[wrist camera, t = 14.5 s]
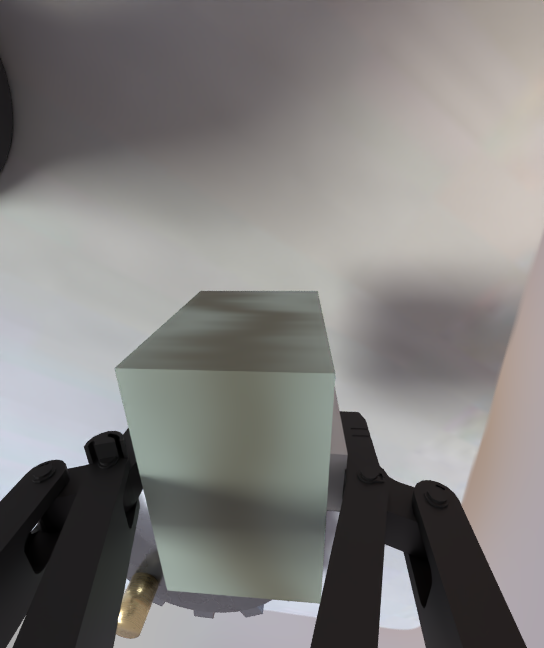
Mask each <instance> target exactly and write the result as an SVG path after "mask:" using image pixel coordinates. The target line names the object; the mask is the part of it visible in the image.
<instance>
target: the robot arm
mask: <svg viewBox="0 0 544 648" xmlns="http://www.w3.org/2000/svg"><path fill="white" fill-rule="evenodd" d="M12 127H13V116H12V103H11V96H10V90H9V86H8V81H7V78H6V74H5V71H4V68H3V65H2V62H1V59H0V171H1V169H2V168H3V166H4V163H5V161H6V159H7V156H8V152H9V148H10V144H11V138H12ZM84 449H85V452H86V455H87V459H88V462H89V464H88V465H84V466H79V467H74V468H69V469H67V466H66V464H65V463H64V462H63V461H61V460H51V461H47V462H44V463H41V464H39V465H38V466H36V467H34V468H32V469H31V470H30V471H29V472H28V473H27V474H26V475H25V476H24V477H23V478H22V479H21V480H20V481H19V482H18V483H17V484H16V485H15V486H14V487H13V489H12V490H11V491H10V492H9V493H8V494H7V495H6V496H5V497H4V498H3V499H2V500H1V501H0V648H6V647H7V645H8V644H9V642H10V640H11V638H12V637H13V635H14V634H15V632H16V630H17V629H18V627H19V626H20V624H21V622H22V621H23V619H24V617H25V616H26V617H25V620H24V622H23V624H22V626H21V629H20V631H19V634H18V636H17V639H16V641H15V643H14V646H13V648H113V646H114V641H115V635H116V630H117V625H118V620H119V614H120V609H121V604H122V599H123V594H124V588H125V583H126V578H127V573H128V567H129V562H130V557H131V552H132V547H133V541H134V536H135V531H136V526H137V520H138V515H139V510H140V502H139V496H140V494H141V492H142V490H143V486H142V482H141V478H140V474H139V469H138V465H137V461H136V457H135V453H134V448H133V444H132V440H131V436H130V431H129V428H128V429H127V430H126V432H125V433H124V434H123V435H122V434H121V433H120V432H117V431H108V432H104V433H101V434H99V435H97V436H94V437H93V438H92V439H90V440H89V441H88V442H87V443H86V445H85V446H84ZM327 511H339V512H340V514H339V519H338V523H337V528H336V532H335V537H334V542H333V546H332V551H331V555H330V560H329V565H328V569H327V574H326V578H325V583H324V588H323V592H322V597H321V601H320V606H319V611H318V615H317V620H316V624H315V629H314V634H313V638H312V643H311V647H310V648H378V635H379V620H380V605H381V591H382V576H383V561H384V546H385V544H386V545H388V546H391V547H393V548H396V549H398V550H401V551H403V552H404V556H405V560H406V564H407V569H408V573H409V577H410V581H411V586H412V590H413V594H414V599H415V603H416V607H417V611H418V616H419V620H420V624H421V629H422V633H423V637H424V641H425V646H426V648H527V647H526V645H525V643H524V640H523V638H522V636H521V634H520V632H519V630H518V627H517V625H516V623H515V621H514V619H513V617H512V614H511V612H510V610H509V608H508V606H507V603H506V601H505V599H504V597H503V595H502V593H501V591H500V588H499V586H498V584H497V582H496V580H495V577H494V575H493V573H492V571H491V569H490V567H489V564H488V562H487V560H486V558H485V556H484V553H483V551H482V549H481V547H480V545H479V543H478V541H477V538H476V536H475V534H474V532H473V530H472V527H471V525H470V523H469V521H468V519H467V517H466V514H465V512H464V510H463V508H462V506H461V504H460V501H459V500H458V498H457V497H456V495H455V494H454V492H452V491H451V490H450V489H449V488H448V487H446V486H444V485H442V484H441V483H439V482H435V481H431V480H425V481H421V482H419V483H417V484H416V486H415V487H412V486H409V485H405V484H402V483H400V482H397V481H395V480H393V479H392V478H390V477H389V476H388V475H387V474H386V472H385V471H384V469H382V468H381V467H380V465H379V463H378V459H377V456H376V453H375V449H374V446H373V443H372V440H371V438H370V433H369V430H368V426H367V423H366V420H365V419H364V418H363V417H362V415H361V414H360V413H359V412H342V411H339V406H338V401H337V396H336V391H335V386H334V402H333V417H332V433H331V449H330V464H329V480H328V495H327ZM37 523H38V524H37ZM36 524H37V525H36ZM35 525H36V527H35ZM34 527H35V528H34ZM33 528H34V529H33ZM32 529H33V530H32Z"/></svg>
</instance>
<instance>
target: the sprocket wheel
mask: <svg viewBox="0 0 544 648" xmlns="http://www.w3.org/2000/svg"><path fill="white" fill-rule="evenodd" d="M139 502H140V510H139V515H138V520H137V526H136V531H135V536H134V541H133V547H132V552H131V557H130V562H129V567H128V573H127V579H128V580H129V581H130V583H129V585H128V587H127V589H126V591H125V593H124V595H123V599H122V604H121V609H120V614H119V620H118V625H117V630H116V634H117V635H119V636H121V637H124V638H130V639H131V638H136V637H138V636H139V635H140V633H141V630H142V628H143V625H144V623H145V620H146V617H147V615H148V612H149V610H150V607H151V604H152V602H153V603H155V604H158V605H160V606H162V605H163V604H164V603H165V602H168V603H170V604H173V605H177V606H179V607H183V608H187V609H192V610H194V616H198V617H205V618H214V613H215V612H237V611H240V612H241V613H242V614H243V615H244V616H245V617H250V616H255V615H259V614H263V607H264V604H265V603H267V602H269V601H271V600H272V599H262V598H250V597H238V596H227V595H215V594H203V593H191V592H180V591H168V590H167V587H166V583H165V579H164V575H163V570H162V566H161V562H160V558H159V554H158V549H157V545H156V541H155V537H154V533H153V528H152V524H151V520H150V516H149V511H148V507H147V503H146V499H145V495H144V490H142V492H141V494H140V496H139Z"/></svg>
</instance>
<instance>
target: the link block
mask: <svg viewBox="0 0 544 648" xmlns="http://www.w3.org/2000/svg"><path fill="white" fill-rule="evenodd" d="M115 372H116V377H117V381H118V385H119V389H120V394H121V398H122V402H123V406H124V410H125V415H126V419H127V423H128V427H129V431H130V436H131V440H132V444H133V448H134V453H135V457H136V461H137V465H138V469H139V474H140V478H141V482H142V486H143V490H144V495H145V499H146V503H147V507H148V511H149V516H150V520H151V524H152V528H153V533H154V537H155V541H156V545H157V549H158V554H159V558H160V562H161V566H162V570H163V575H164V579H165V583H166V587H167V590H168V591H180V592H191V593H203V594H215V595H227V596H238V597H250V598H262V599H273V600H285V601H297V602H309V603H320V601H321V589H322V574H323V558H324V542H325V527H326V511H327V495H328V480H329V464H330V449H331V433H332V417H333V402H334V386H335V370H334V365H333V361H332V356H331V351H330V347H329V342H328V338H327V333H326V328H325V324H324V319H323V314H322V310H321V305H320V300H319V296H318V291H200V292H199V293H198V294H197V295H196V296H195V297H194V298H192V299H191V300H190V301H189V302H188V303H187V304H186V305H185V306H183V307H182V308H181V309H180V310H179V311H178V312H177V313H176V314H175V315H173V316H172V317H171V318H170V319H169V320H168V321H167V322H166V323H165V324H163V325H162V326H161V327H160V328H159V329H158V330H157V331H156V332H154V333H153V334H152V335H151V336H150V337H149V338H148V339H147V340H146V341H144V342H143V343H142V344H141V345H140V346H139V347H138V348H137V349H136V350H134V351H133V352H132V353H131V354H130V355H129V356H128V357H127V358H125V359H124V360H123V361H122V362H121V363H120V364H119V365H118V366H117V367H115Z"/></svg>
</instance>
